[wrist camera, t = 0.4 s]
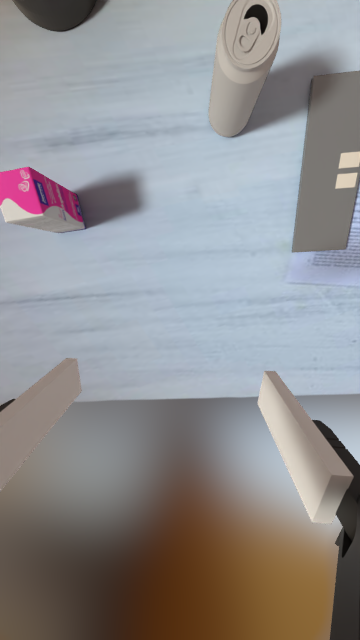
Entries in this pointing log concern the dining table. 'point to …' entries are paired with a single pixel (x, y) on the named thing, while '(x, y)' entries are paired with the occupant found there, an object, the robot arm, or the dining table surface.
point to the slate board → (329, 164)
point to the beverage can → (242, 62)
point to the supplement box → (38, 202)
